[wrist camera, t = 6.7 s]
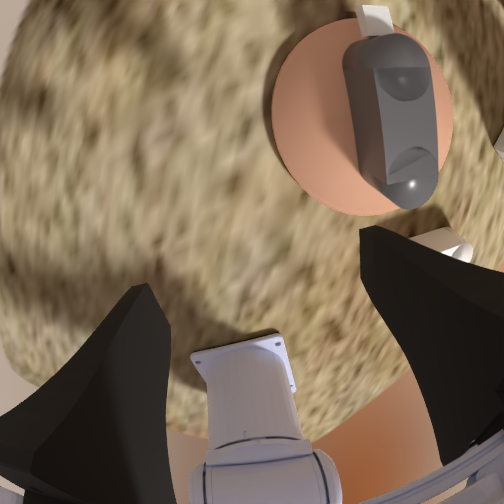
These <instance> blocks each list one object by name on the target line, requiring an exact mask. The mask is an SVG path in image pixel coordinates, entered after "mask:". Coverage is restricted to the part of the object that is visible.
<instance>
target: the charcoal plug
mask: <svg viewBox="0 0 504 504" xmlns="http://www.w3.org/2000/svg"><path fill="white" fill-rule="evenodd" d="M355 12H356V15H357V19H358V23H359V27H360V31H361V35H362V38H368V39H363V40H359V41H356V42H354V43H352V44H351V45H350V46H349V47H348V48H347V49H346V51H345V53H344V55H343V60H342V68H343V73H344V78H345V83H346V88H347V93H348V99H349V104H350V110H351V116H352V123H353V129H354V136H355V143H356V151H357V159H358V167H359V171H360V174H361V176H362V178H363V179H364V180H365V181H366V182H367V183H368V184H369V185H371V186H372V187H373V188H375V189H376V190H377V191H379V192H380V193H381V194H383V195H384V196H385V197H386V198H388V199H389V200H390V201H392V202H393V203H394V204H395V205H397V206H398V207H400V208H402V209H415V208H418V207H420V206H422V205H423V204H424V203H426V202H427V201H428V200H429V199H430V197H431V196H432V194H433V193H434V191H435V189H436V186H437V182H438V174H439V165H438V134H437V119H436V107H435V98H434V89H433V82H432V75H431V68H430V63H429V60H428V57H427V55H426V53H425V52H424V50H423V49H422V47H421V46H420V45H419V44H418V43H417V42H416V41H415V40H413V39H412V38H410V37H409V36H406V35H404V34H399V33H394V29H393V24H392V20H391V17H390V13H389V9H388V6H372V5H361V6H359V7H357V8H355ZM369 37H372V38H369Z"/></svg>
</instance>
